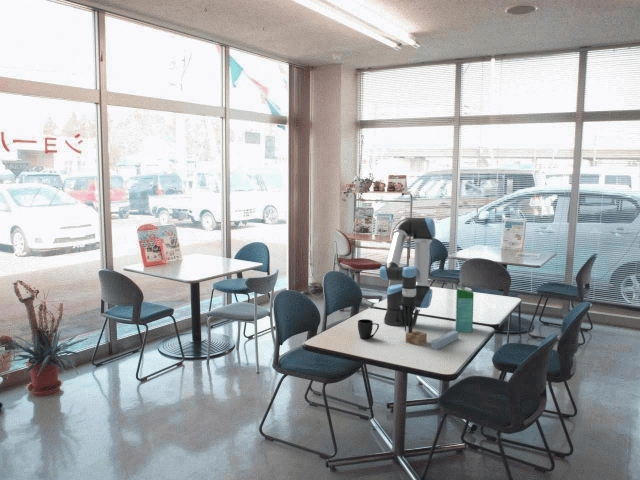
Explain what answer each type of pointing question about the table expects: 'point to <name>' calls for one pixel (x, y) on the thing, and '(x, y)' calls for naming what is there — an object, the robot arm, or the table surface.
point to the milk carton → (464, 309)
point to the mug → (366, 328)
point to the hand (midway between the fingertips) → (408, 337)
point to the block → (416, 337)
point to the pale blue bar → (444, 340)
